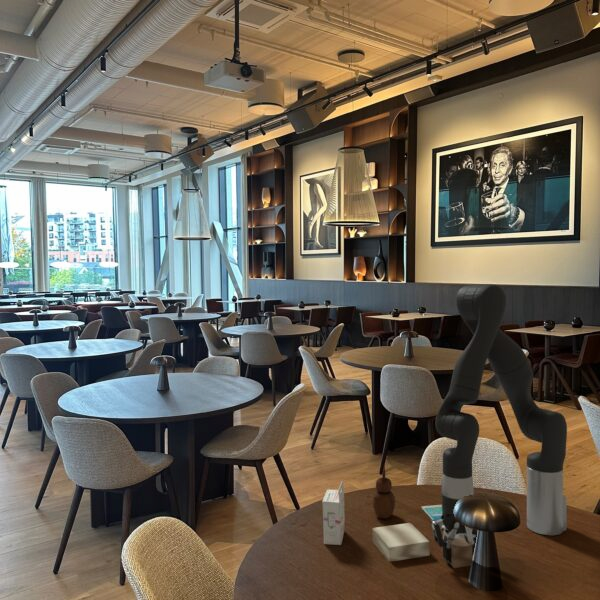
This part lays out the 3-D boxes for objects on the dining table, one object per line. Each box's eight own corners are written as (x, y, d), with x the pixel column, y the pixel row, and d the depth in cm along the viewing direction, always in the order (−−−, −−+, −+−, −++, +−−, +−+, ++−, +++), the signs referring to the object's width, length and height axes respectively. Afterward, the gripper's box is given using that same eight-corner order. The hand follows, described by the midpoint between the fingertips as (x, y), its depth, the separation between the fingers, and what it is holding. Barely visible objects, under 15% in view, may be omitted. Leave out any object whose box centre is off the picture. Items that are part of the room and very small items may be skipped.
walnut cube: (462, 556, 138) (461, 537, 138) (472, 565, 133) (471, 546, 133) (444, 558, 137) (444, 539, 137) (454, 568, 132) (453, 548, 132)
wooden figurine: (380, 509, 166) (379, 461, 165) (398, 514, 162) (397, 464, 162) (369, 517, 160) (369, 467, 160) (387, 522, 157) (387, 471, 156)
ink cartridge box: (327, 529, 153) (326, 478, 153) (345, 531, 152) (344, 479, 152) (322, 544, 145) (321, 489, 144) (341, 546, 144) (340, 491, 143)
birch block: (410, 537, 149) (410, 522, 149) (429, 556, 138) (429, 541, 138) (372, 542, 146) (372, 528, 146) (389, 563, 136) (389, 547, 135)
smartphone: (443, 504, 168) (464, 525, 153) (443, 507, 168) (464, 528, 153) (420, 506, 167) (439, 528, 152) (420, 509, 167) (439, 530, 152)
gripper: (475, 483, 139) (476, 548, 140) (423, 489, 136) (424, 556, 137) (492, 494, 132) (492, 563, 133) (437, 501, 129) (438, 571, 130)
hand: (458, 559), depth 135 cm, fingers closed on walnut cube, 4 cm apart
